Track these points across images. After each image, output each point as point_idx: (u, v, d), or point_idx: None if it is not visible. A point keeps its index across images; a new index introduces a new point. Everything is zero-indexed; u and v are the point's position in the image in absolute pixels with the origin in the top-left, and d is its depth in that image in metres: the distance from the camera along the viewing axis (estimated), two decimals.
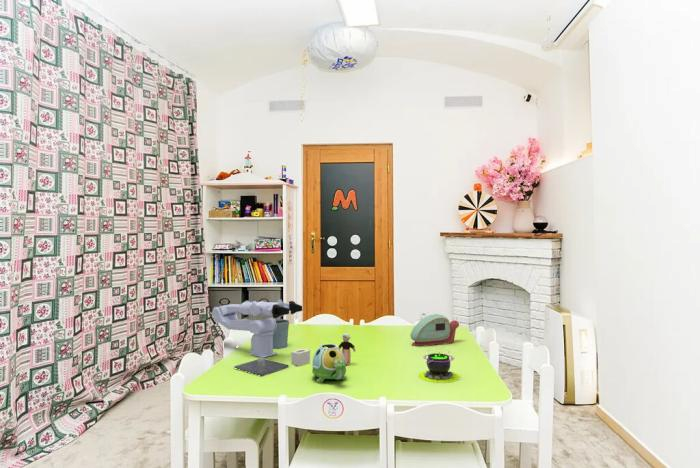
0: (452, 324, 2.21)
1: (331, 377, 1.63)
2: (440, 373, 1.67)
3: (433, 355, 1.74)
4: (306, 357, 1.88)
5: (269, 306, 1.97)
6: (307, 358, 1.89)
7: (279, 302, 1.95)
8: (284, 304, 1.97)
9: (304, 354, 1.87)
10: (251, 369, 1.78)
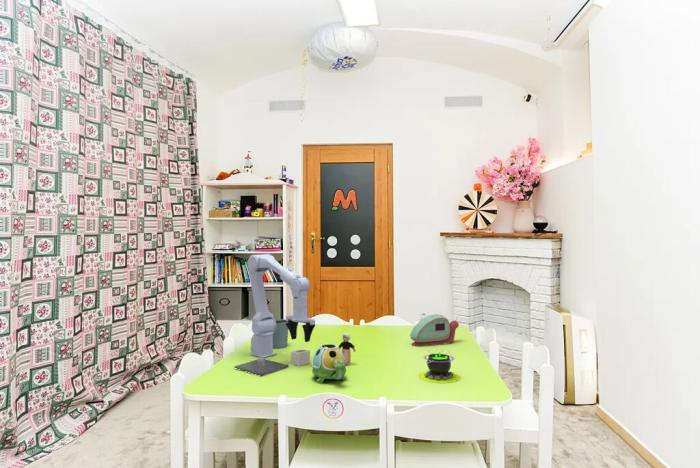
0: (452, 324, 2.21)
1: (331, 377, 1.63)
2: (440, 373, 1.67)
3: (433, 355, 1.74)
4: (306, 357, 1.88)
5: None
6: (307, 358, 1.89)
7: (294, 320, 1.87)
8: None
9: (304, 354, 1.87)
10: (251, 369, 1.78)
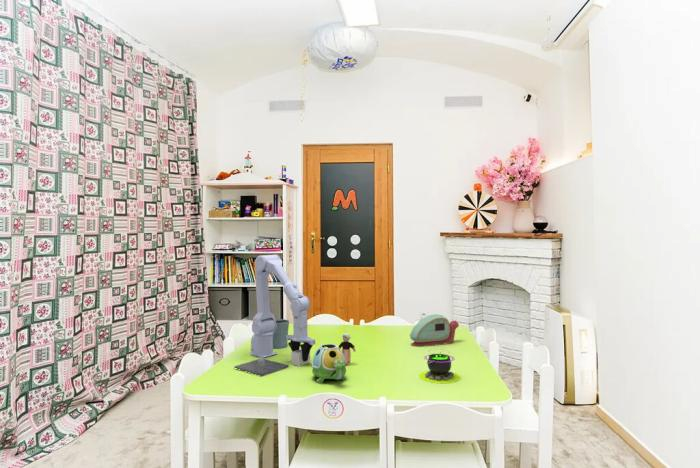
0: (452, 324, 2.21)
1: (331, 377, 1.63)
2: (441, 373, 1.67)
3: (434, 355, 1.73)
4: None
5: None
6: None
7: None
8: None
9: None
10: (251, 369, 1.78)
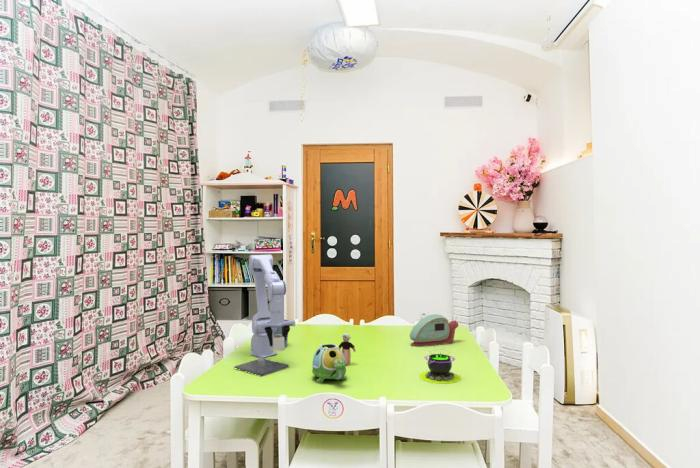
0: (451, 324, 2.21)
1: (331, 377, 1.63)
2: (441, 374, 1.66)
3: (434, 356, 1.73)
4: None
5: (271, 314, 1.83)
6: None
7: (277, 325, 1.82)
8: None
9: None
10: (251, 369, 1.78)
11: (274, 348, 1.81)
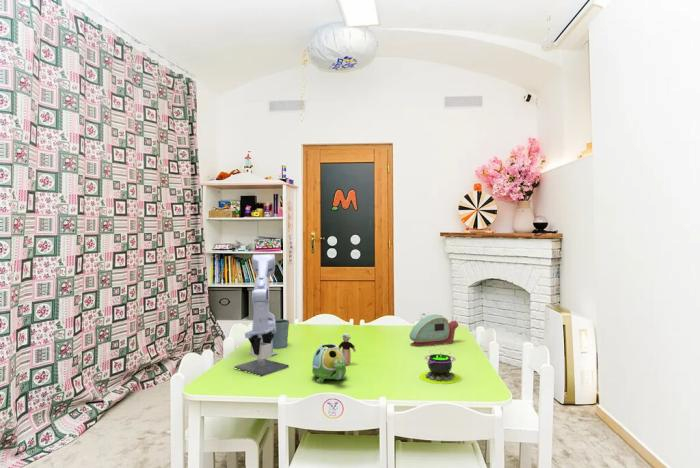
0: (451, 324, 2.21)
1: (331, 377, 1.63)
2: (441, 374, 1.66)
3: (434, 356, 1.73)
4: None
5: (258, 322, 1.80)
6: None
7: (265, 332, 1.80)
8: None
9: None
10: (251, 369, 1.78)
11: (263, 356, 1.79)
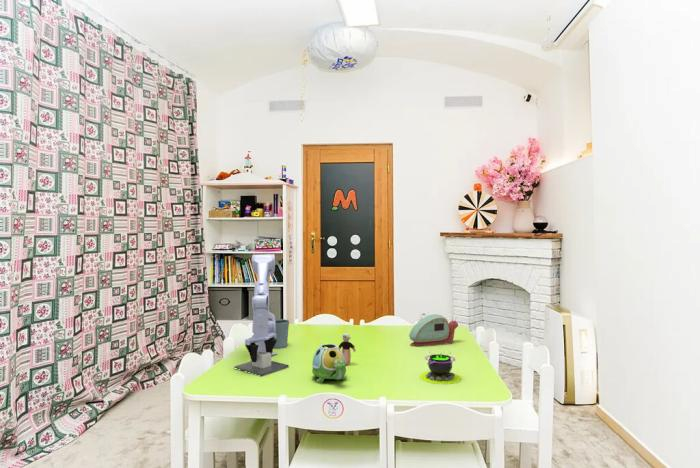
0: (451, 324, 2.21)
1: (331, 377, 1.63)
2: (442, 374, 1.66)
3: (434, 356, 1.73)
4: None
5: (258, 328, 1.80)
6: None
7: None
8: None
9: None
10: (251, 369, 1.78)
11: (263, 365, 1.79)
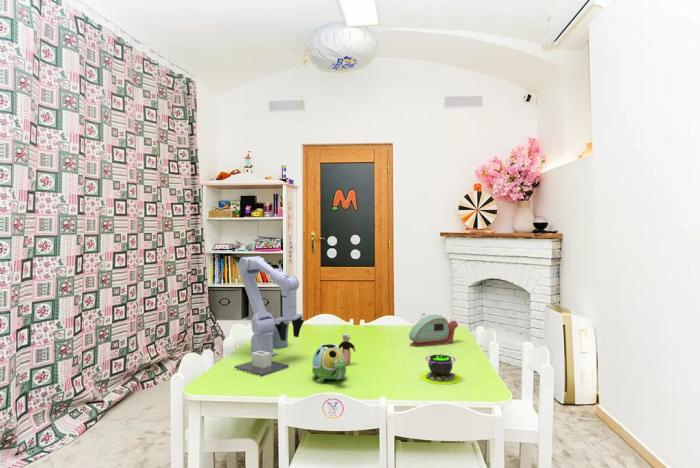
0: (451, 324, 2.21)
1: (331, 377, 1.63)
2: (442, 374, 1.66)
3: (435, 356, 1.72)
4: None
5: (287, 309, 1.90)
6: None
7: (293, 319, 1.90)
8: None
9: None
10: (251, 369, 1.78)
11: (263, 365, 1.79)
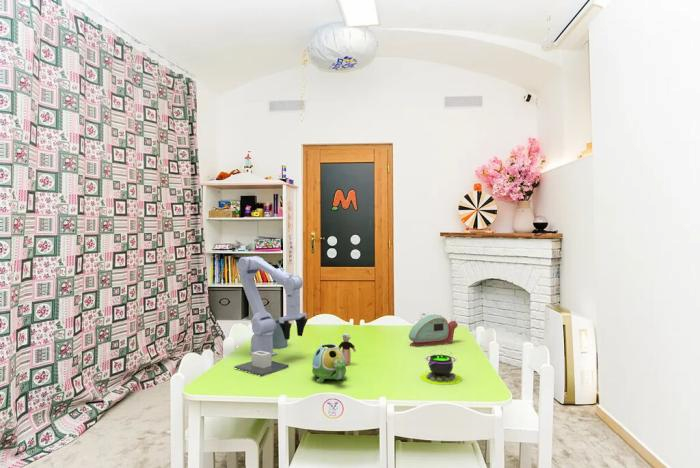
0: (450, 324, 2.21)
1: (331, 377, 1.63)
2: (442, 375, 1.65)
3: (435, 356, 1.72)
4: None
5: (291, 308, 1.91)
6: None
7: (297, 318, 1.92)
8: None
9: None
10: (251, 369, 1.78)
11: (263, 365, 1.79)
